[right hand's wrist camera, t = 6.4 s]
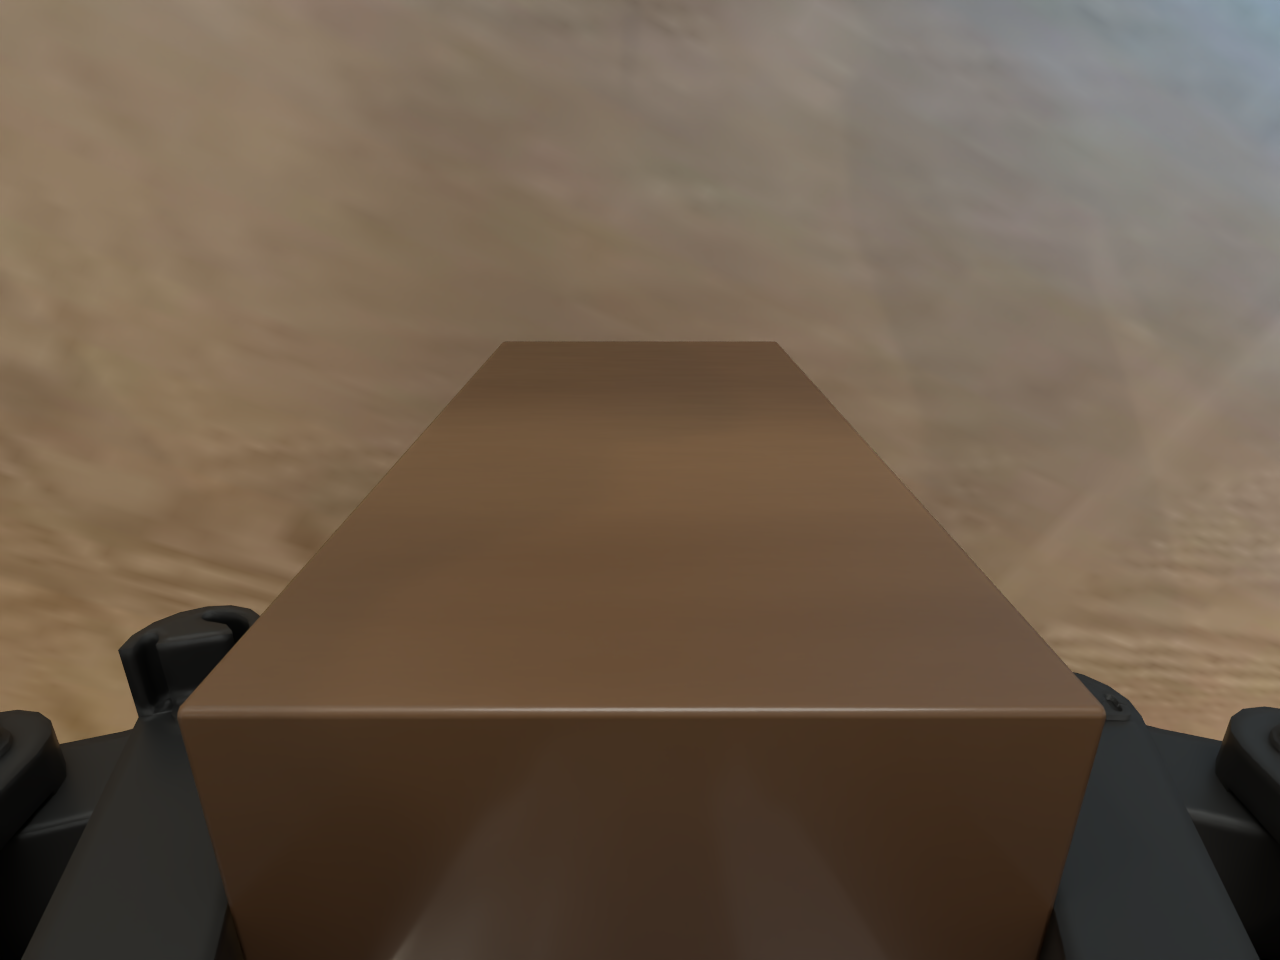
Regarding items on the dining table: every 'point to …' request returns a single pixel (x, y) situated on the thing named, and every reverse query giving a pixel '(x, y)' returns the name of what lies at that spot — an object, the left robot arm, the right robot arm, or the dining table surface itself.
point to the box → (641, 693)
